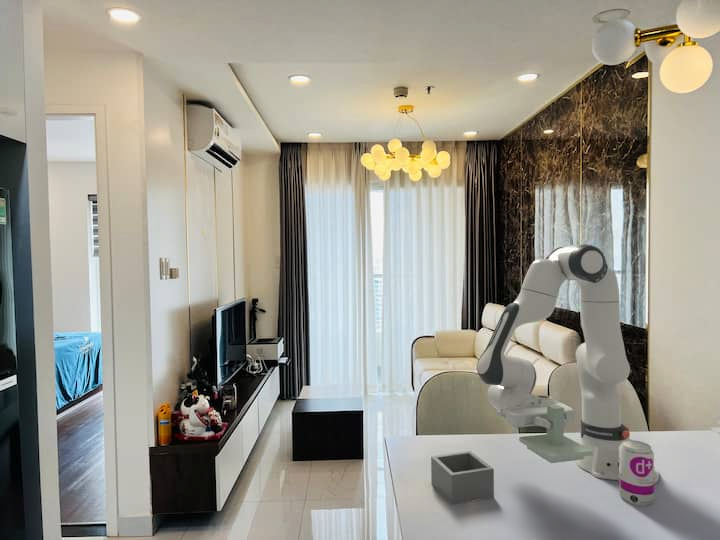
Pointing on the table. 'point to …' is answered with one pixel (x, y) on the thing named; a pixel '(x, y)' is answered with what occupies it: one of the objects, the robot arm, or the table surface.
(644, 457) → the supplement can
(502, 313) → the robot arm
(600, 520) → the table surface
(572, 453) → the lid
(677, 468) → the table surface
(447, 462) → the tub
